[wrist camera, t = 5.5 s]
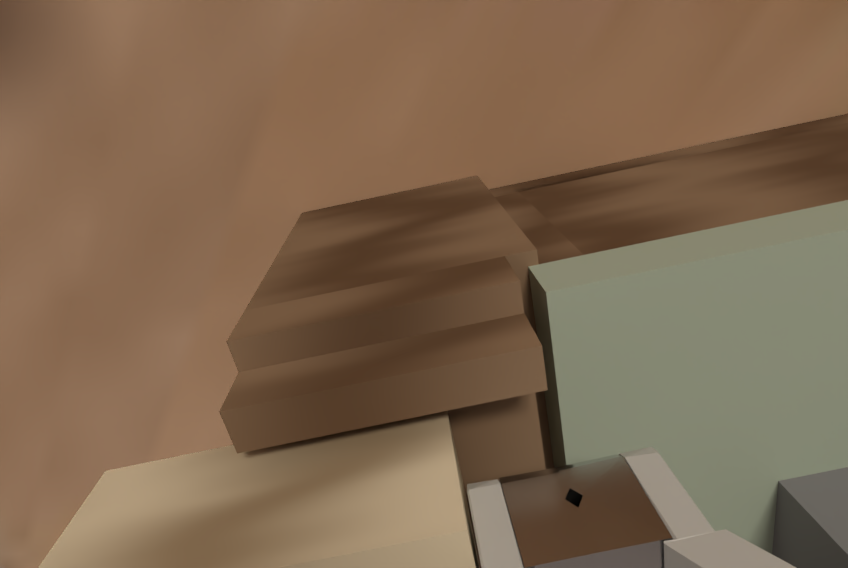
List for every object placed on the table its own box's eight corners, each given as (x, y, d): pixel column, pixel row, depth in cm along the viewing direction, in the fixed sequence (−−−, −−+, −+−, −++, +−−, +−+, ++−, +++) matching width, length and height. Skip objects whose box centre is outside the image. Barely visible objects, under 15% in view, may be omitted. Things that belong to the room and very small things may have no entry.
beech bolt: (445, 401, 9) (467, 529, 6) (468, 505, 10) (494, 652, 7) (105, 471, 9) (-2, 624, 7) (159, 567, 10) (83, 732, 8)
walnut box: (999, 65, 16) (1723, 64, 7) (922, 423, 21) (1290, 669, 12) (301, 212, 16) (204, 378, 8) (396, 529, 21) (402, 838, 13)
